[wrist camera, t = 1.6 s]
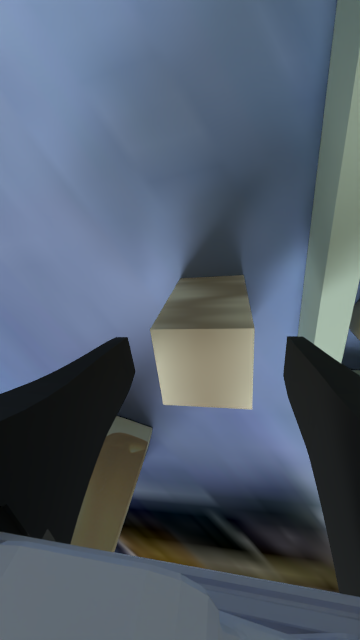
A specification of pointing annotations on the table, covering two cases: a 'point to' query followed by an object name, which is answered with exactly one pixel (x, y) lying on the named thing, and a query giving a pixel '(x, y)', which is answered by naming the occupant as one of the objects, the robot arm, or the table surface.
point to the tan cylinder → (355, 320)
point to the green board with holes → (336, 197)
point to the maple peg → (206, 344)
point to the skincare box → (112, 485)
